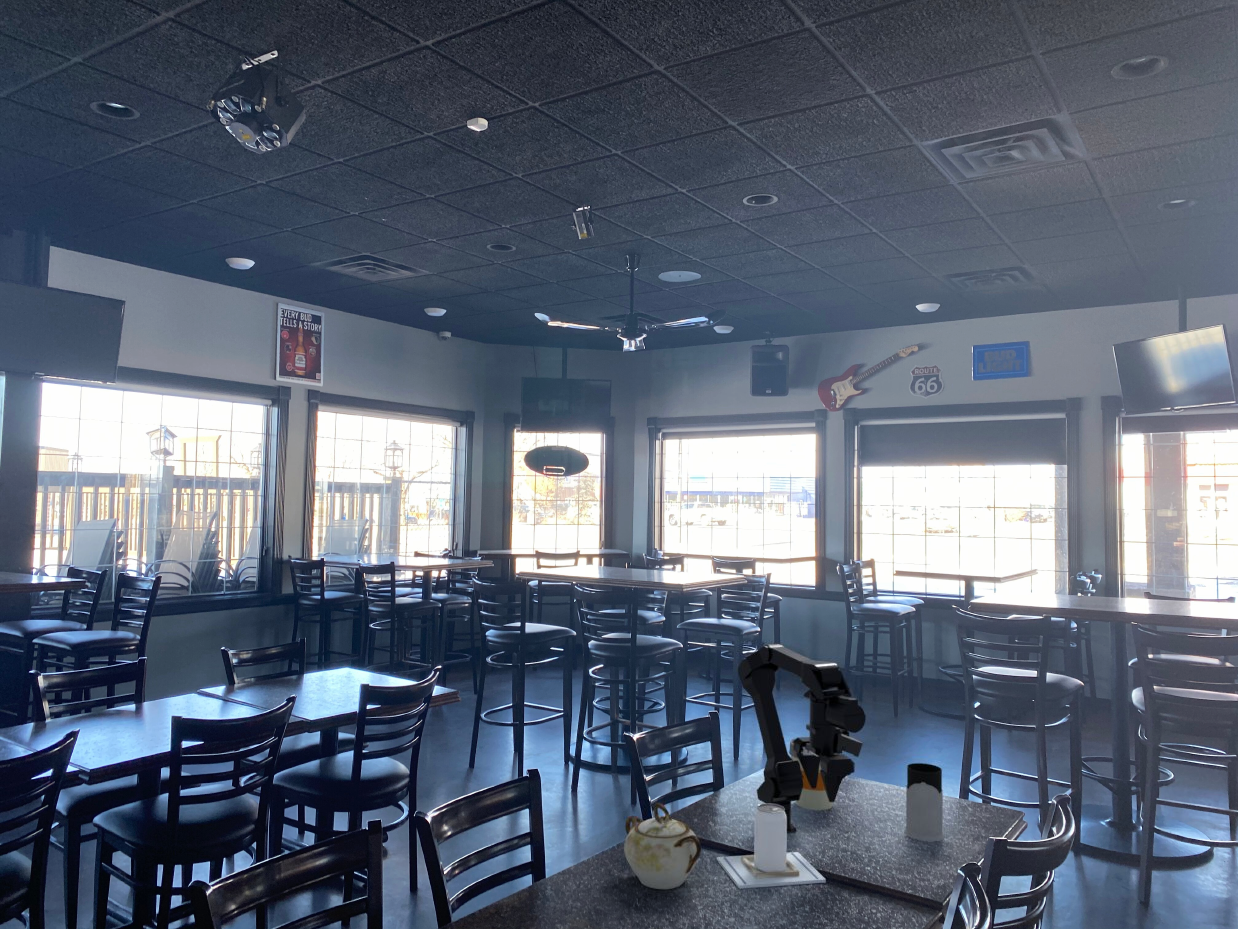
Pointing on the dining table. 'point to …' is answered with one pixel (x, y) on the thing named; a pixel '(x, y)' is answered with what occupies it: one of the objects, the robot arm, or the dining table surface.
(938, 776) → the glass holder
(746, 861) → the seat frame
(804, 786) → the reusable coffee cup
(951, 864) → the dining table surface
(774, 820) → the can
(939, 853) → the dining table surface
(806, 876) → the grey flat tray
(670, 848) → the sugar bowl
